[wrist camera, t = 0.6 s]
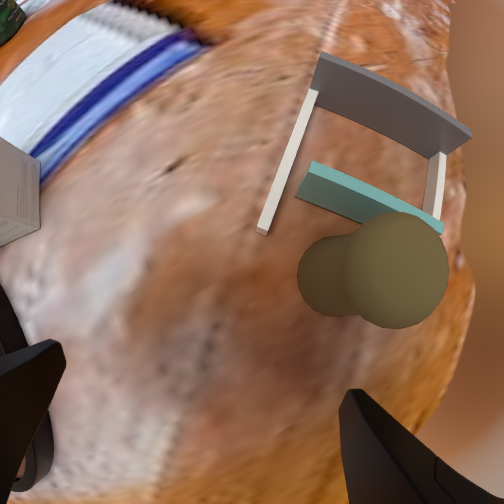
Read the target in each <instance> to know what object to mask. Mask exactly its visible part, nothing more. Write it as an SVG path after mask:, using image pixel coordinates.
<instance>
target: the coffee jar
mask: <svg viewBox="0 0 504 504" xmlns="http://www.w3.org/2000/svg"><path fill="white" fill-rule="evenodd" d="M25 16H26V14H25V13H24V11H23V10H22V9H21V8H20V6H19V5H18V4H17V3H16V2H15V1H14V0H0V46H2V45H3V44H4V43H6V42H7V40H8V39H9V38H10V37H11V36H13V35H14V34H15V33H16V31H17V30H18V29H19V27H20V25H21V24H22V22H23V21H24V19H25Z"/></svg>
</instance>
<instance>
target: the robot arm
mask: <svg viewBox="0 0 504 504" xmlns="http://www.w3.org/2000/svg"><path fill="white" fill-rule="evenodd" d="M65 368H66V359H65V355H64V352H63V349H62V345H61V343H60V342H58V341H56V340H53V339H48V340H45V341H42V342H40V343H37V344H34V345H32V346H29V347H26V348H24V349H21V350H18V351H16V352H13V353H10V354H7V355H5V356H2V357H0V504H6V503H7V500H8V498H9V495H10V492H11V489H12V486H13V484H14V481H15V479H16V476H17V474H18V471H19V469H20V466H21V464H22V462H23V459H24V457H25V455H26V452H27V450H28V448H29V446H30V444H31V442H32V439H33V437H34V435H35V433H36V431H37V429H38V427H39V425H40V423H41V421H42V419H43V417H44V415H45V413H46V411H47V409H48V407H49V405H50V403H51V401H52V399H53V397H54V394H55V392H56V389H57V387H58V384H59V382H60V380H61V377H62V375H63V373H64V370H65ZM339 425H340V442H341V456H342V462H343V468H344V474H345V480H346V486H347V492H348V498H349V504H504V499H503V498H499V497H496V496H494V495H492V494H490V493H489V492H487V491H485V490H484V489H482V488H481V487H479V486H477V485H476V484H474V483H473V482H471V481H470V480H468V479H467V478H465V477H464V476H462V475H461V474H459V473H458V472H457V471H455V470H454V469H453V468H451V467H450V466H449V465H447V464H446V463H445V462H444V461H443V460H442V459H440V458H439V457H438V456H436V454H434V453H433V452H432V451H431V450H430V449H429V448H427V447H426V446H425V445H424V444H423V443H422V442H420V441H419V440H418V439H417V438H416V437H415V436H414V435H413V434H411V433H410V432H409V431H408V430H407V429H406V428H405V427H404V426H402V425H401V424H400V423H399V422H398V421H397V420H396V419H395V418H393V417H392V416H391V415H390V414H389V413H388V412H387V411H386V410H385V409H383V408H382V407H381V406H380V405H379V404H378V403H377V402H376V401H375V400H373V399H372V398H371V397H370V396H369V395H368V394H367V393H366V392H365V391H364V390H362V389H349V390H348V391H347V392H346V394H345V396H344V399H343V401H342V403H341V405H340V408H339Z"/></svg>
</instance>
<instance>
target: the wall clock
mask: <svg viewBox="0 0 504 504" xmlns="http://www.w3.org/2000/svg"><path fill="white" fill-rule="evenodd" d="M26 347H29V346H28V344H27V341H26V338H25V336H24V333H23V331H22V328H21V326H20V324H19V321H18V319H17V317H16V314H15V312H14V310H13V308H12V306H11V304H10V301H9V299H8V297H7V296H6V294H5V292H4V290H3V288H2V286H1V285H0V357H2V356H5V355H7V354H10V353H13V352H16V351H18V350H21V349H24V348H26ZM53 453H54V443H53V432H52V426H51V420H50V415H49V411H48V409H47V411H46V413H45V415H44V417H43V419H42V421H41V423H40V425H39V427H38V429H37V431H36V433H35V435H34V437H33V439H32V442H31V444H30V446H29V448H28V450H27V452H26V455H25V457H24V459H23V462H22V464H21V466H20V469H19V471H18V474H17V476H16V479H15V481H14V484H13V486H12V489H11V491H14V492H24V491H27V490H29V489H31V488H32V487H33V486H34V485H35V484H36V483H37V482H39V481H40V480H41V479H42V478H43V477H44V476H45V475H46V474H47V473H48V472H49V470H50V468H51V465H52V461H53Z"/></svg>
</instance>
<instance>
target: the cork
mask: <svg viewBox="0 0 504 504" xmlns="http://www.w3.org/2000/svg"><path fill="white" fill-rule="evenodd" d="M448 276H449V264H448V256H447V252H446V249H445V247H444V244H443V242H442V239H441V238H440V237H439V235H438V234H437V233H436V231H435V230H434V229H433V227H431V226H430V225H429V224H427V223H426V222H425V221H423V220H422V219H421V218H419V217H418V216H415V215H412V214H408V213H405V212H392V213H382V214H380V215H378V216H376V217H374V218H372V219H370V220H368V221H367V222H365V223H363V225H362V226H361V227H360V228H359V229H358V230H357V231H356V232H355V233H354V234H352V235H343V236H334V237H326V238H323V239H321V240H319V241H317V242H315V243H313V244H312V245H311V246H310V247H309V248H308V249H307V250H306V251H305V253H304V255H303V257H302V259H301V261H300V262H299V267H298V273H297V279H298V287H299V290H300V292H301V294H302V297H303V299H304V300H305V302H306V303H307V304H308V305H309V306H310V307H311V308H312V309H313V310H315V311H317V312H319V313H321V314H323V315H328V316H335V317H336V316H351V315H361V316H362V318H364V319H365V320H367V321H369V322H371V323H373V324H375V325H377V326H379V327H382V328H390V329H401V328H406V327H409V326H413V325H416V324H419V323H420V322H421V321H423V320H424V319H425V318H427V317H428V316H429V315H431V313H432V312H433V311H434V310H435V308H436V307H437V306H438V304H439V303H440V301H441V300H442V298H443V296H444V293H445V290H446V287H447V285H448Z"/></svg>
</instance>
